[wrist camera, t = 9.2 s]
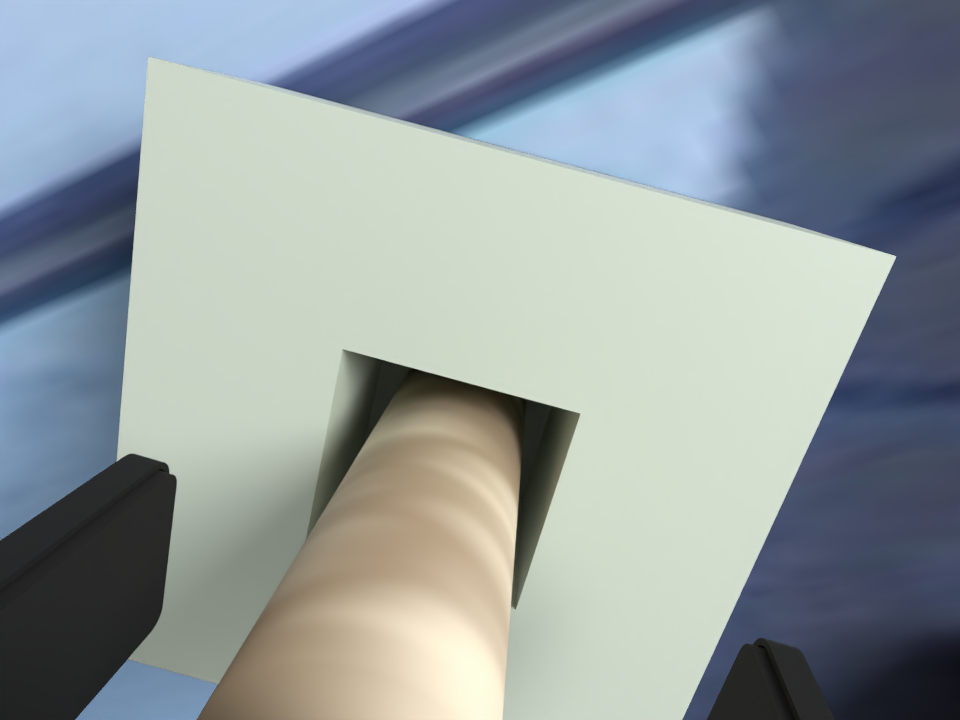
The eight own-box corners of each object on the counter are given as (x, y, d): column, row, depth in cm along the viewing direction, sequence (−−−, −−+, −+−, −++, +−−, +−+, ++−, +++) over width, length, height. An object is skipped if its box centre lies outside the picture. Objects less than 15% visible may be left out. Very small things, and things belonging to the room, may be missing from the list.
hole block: (781, 221, 17) (896, 256, 12) (617, 633, 22) (643, 802, 16) (276, 86, 18) (148, 56, 12) (215, 522, 22) (102, 651, 16)
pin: (540, 362, 18) (534, 716, 7) (507, 473, 19) (454, 934, 8) (415, 328, 18) (204, 625, 7) (389, 441, 19) (171, 855, 8)
